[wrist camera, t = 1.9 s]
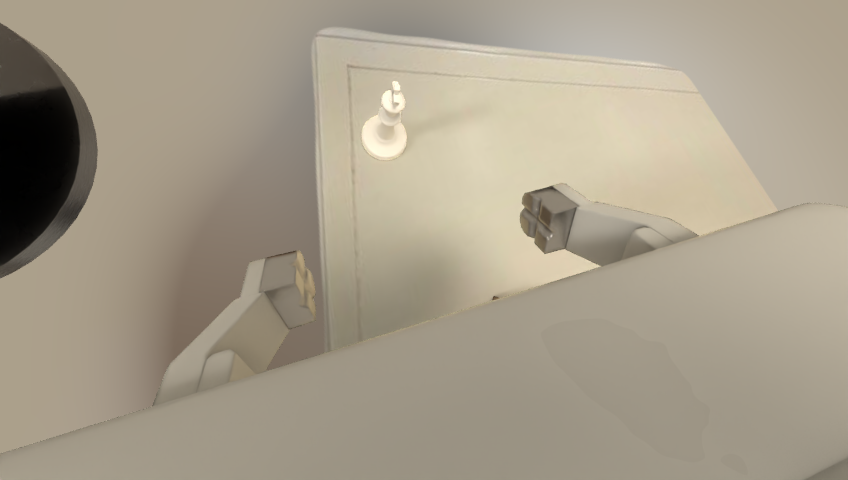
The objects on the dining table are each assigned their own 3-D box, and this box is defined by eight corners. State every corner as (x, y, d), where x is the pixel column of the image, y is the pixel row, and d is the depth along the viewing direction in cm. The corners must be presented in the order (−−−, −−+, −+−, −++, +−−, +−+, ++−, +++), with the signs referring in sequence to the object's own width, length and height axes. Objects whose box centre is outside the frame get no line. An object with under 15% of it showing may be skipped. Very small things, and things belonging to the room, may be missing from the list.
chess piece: (362, 160, 32) (365, 117, 22) (360, 115, 32) (363, 53, 23) (407, 161, 33) (430, 120, 24) (405, 117, 33) (426, 59, 24)
